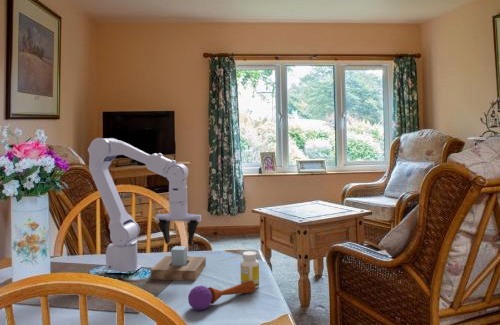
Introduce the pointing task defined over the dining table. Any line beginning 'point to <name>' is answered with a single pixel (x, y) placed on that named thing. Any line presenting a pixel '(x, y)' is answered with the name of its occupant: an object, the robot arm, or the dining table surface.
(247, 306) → the dining table surface
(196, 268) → the socket block
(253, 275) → the supplement bottle
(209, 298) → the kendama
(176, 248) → the peg
